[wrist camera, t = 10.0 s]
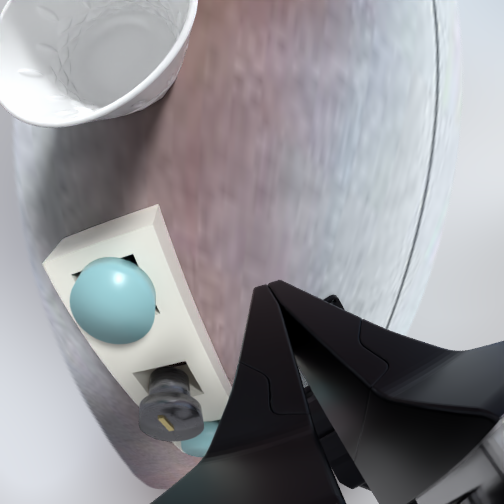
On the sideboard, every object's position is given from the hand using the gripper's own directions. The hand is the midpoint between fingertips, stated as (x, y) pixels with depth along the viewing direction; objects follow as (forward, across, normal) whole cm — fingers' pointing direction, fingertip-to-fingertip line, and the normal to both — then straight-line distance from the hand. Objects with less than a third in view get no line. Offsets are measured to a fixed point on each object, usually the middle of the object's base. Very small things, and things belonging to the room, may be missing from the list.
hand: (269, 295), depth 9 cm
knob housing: (+12, +8, +12) cm, 19 cm away
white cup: (+12, +4, -10) cm, 16 cm away
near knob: (+11, +8, +3) cm, 14 cm away
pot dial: (+8, +8, +12) cm, 17 cm away
